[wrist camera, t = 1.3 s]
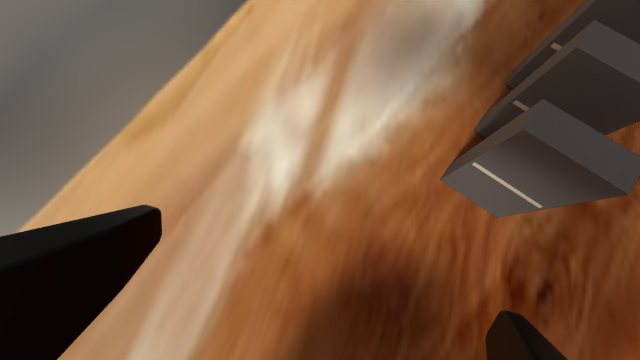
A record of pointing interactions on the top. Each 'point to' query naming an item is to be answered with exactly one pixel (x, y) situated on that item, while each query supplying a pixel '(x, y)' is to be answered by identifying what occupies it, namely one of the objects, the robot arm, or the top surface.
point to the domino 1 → (543, 165)
